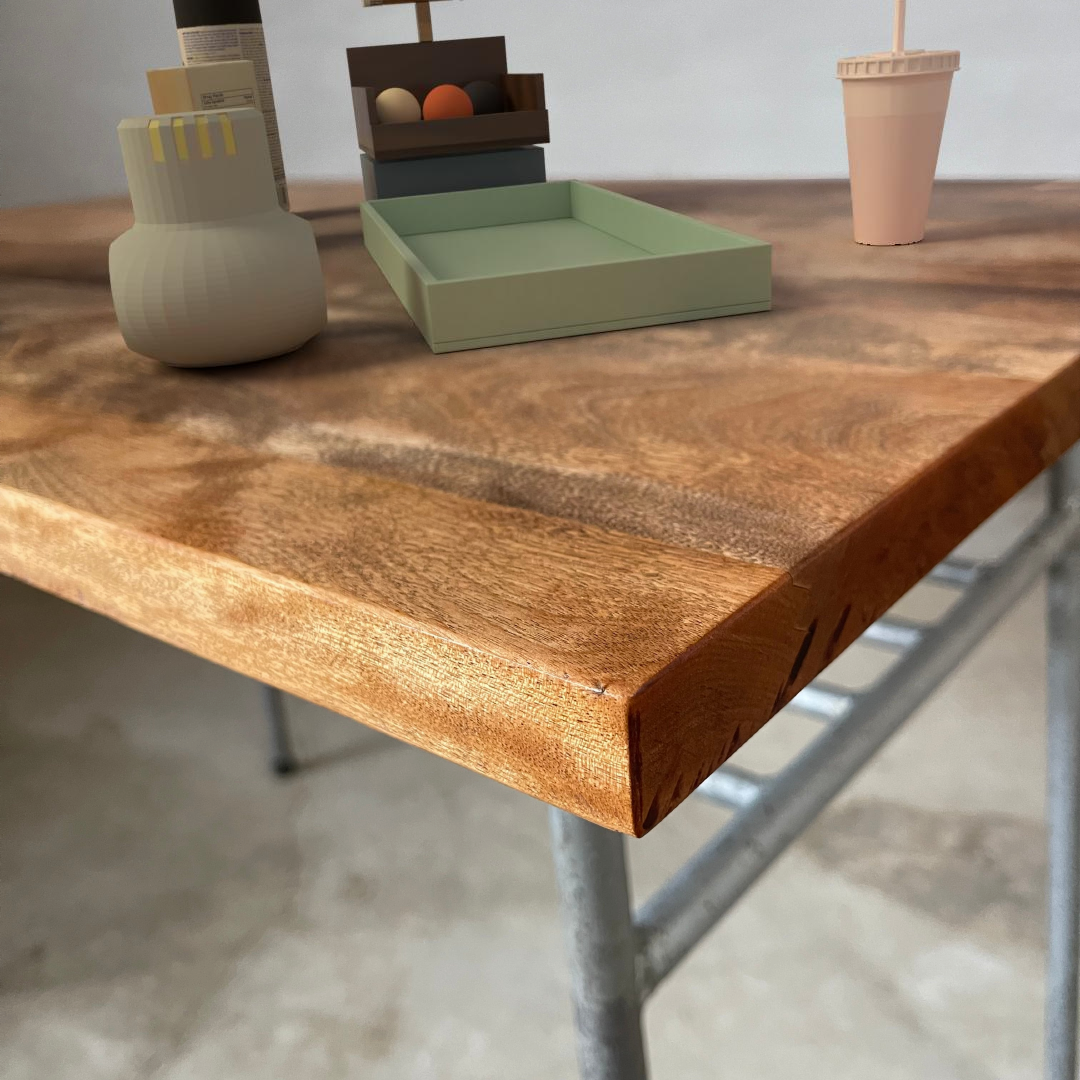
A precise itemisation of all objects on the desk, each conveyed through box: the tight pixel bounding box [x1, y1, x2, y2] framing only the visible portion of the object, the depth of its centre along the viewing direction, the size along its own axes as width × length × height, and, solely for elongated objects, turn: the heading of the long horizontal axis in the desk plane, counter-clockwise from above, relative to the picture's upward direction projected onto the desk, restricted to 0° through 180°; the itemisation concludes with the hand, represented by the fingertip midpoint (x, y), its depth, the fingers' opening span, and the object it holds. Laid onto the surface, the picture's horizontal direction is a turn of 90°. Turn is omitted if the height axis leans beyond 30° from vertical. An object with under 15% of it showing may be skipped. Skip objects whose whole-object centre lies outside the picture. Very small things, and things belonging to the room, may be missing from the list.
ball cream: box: [376, 88, 421, 124], centre depth 84 cm, size 4×4×4 cm
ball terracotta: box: [423, 85, 473, 120], centre depth 80 cm, size 4×4×4 cm
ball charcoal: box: [462, 81, 504, 116], centre depth 85 cm, size 4×4×4 cm
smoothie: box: [834, 0, 962, 246], centre depth 61 cm, size 6×6×14 cm
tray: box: [358, 178, 773, 354], centre depth 62 cm, size 33×15×3 cm, turn 13°
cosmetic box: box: [145, 60, 262, 115], centre depth 78 cm, size 6×4×12 cm
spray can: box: [172, 0, 291, 213], centre depth 90 cm, size 7×7×20 cm
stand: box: [359, 144, 547, 201], centre depth 84 cm, size 11×12×5 cm
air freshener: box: [108, 108, 328, 368], centre depth 48 cm, size 11×8×10 cm
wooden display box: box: [345, 0, 551, 160], centre depth 80 cm, size 14×12×12 cm
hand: (421, 3), depth 84 cm, fingers closed on wooden display box, 6 cm apart
